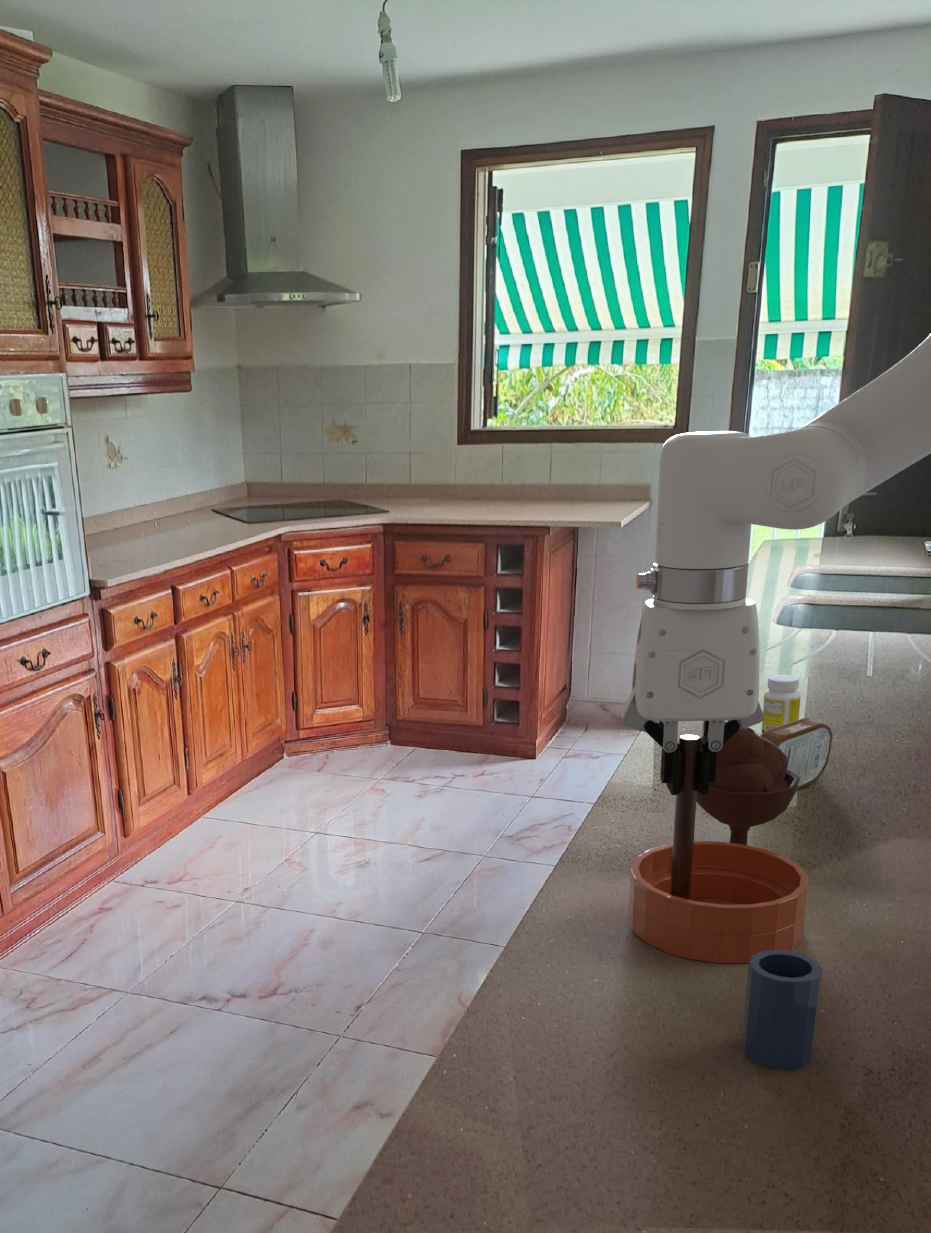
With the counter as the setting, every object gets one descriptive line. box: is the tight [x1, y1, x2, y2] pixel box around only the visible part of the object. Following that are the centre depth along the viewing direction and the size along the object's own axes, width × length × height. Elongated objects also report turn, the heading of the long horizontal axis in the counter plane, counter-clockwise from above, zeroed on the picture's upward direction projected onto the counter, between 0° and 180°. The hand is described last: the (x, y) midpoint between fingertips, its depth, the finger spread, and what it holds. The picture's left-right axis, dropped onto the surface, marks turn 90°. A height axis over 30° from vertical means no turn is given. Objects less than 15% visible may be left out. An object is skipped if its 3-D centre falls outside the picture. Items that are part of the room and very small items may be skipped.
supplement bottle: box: [761, 674, 802, 735], centre depth 163 cm, size 5×5×8 cm
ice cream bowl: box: [696, 727, 801, 846], centre depth 122 cm, size 11×11×15 cm
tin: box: [759, 717, 834, 791], centre depth 142 cm, size 15×3×8 cm, turn 126°
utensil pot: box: [741, 950, 824, 1071], centre depth 87 cm, size 5×5×8 cm
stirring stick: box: [670, 734, 702, 900], centre depth 106 cm, size 2×2×18 cm
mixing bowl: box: [628, 840, 809, 964], centre depth 108 cm, size 15×15×6 cm
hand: (686, 788), depth 105 cm, fingers closed on stirring stick, 1 cm apart
